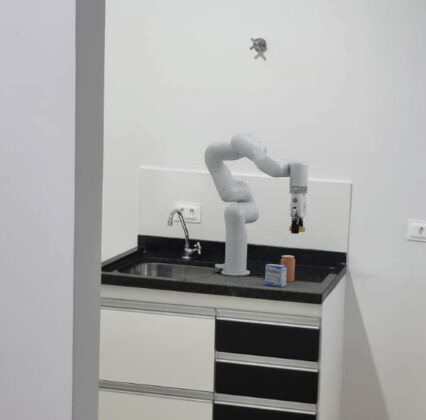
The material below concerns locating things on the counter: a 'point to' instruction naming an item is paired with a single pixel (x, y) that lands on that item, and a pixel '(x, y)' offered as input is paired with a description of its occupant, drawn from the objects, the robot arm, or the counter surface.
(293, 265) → the jam jar
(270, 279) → the medicine box
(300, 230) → the jar lid
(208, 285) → the counter surface
